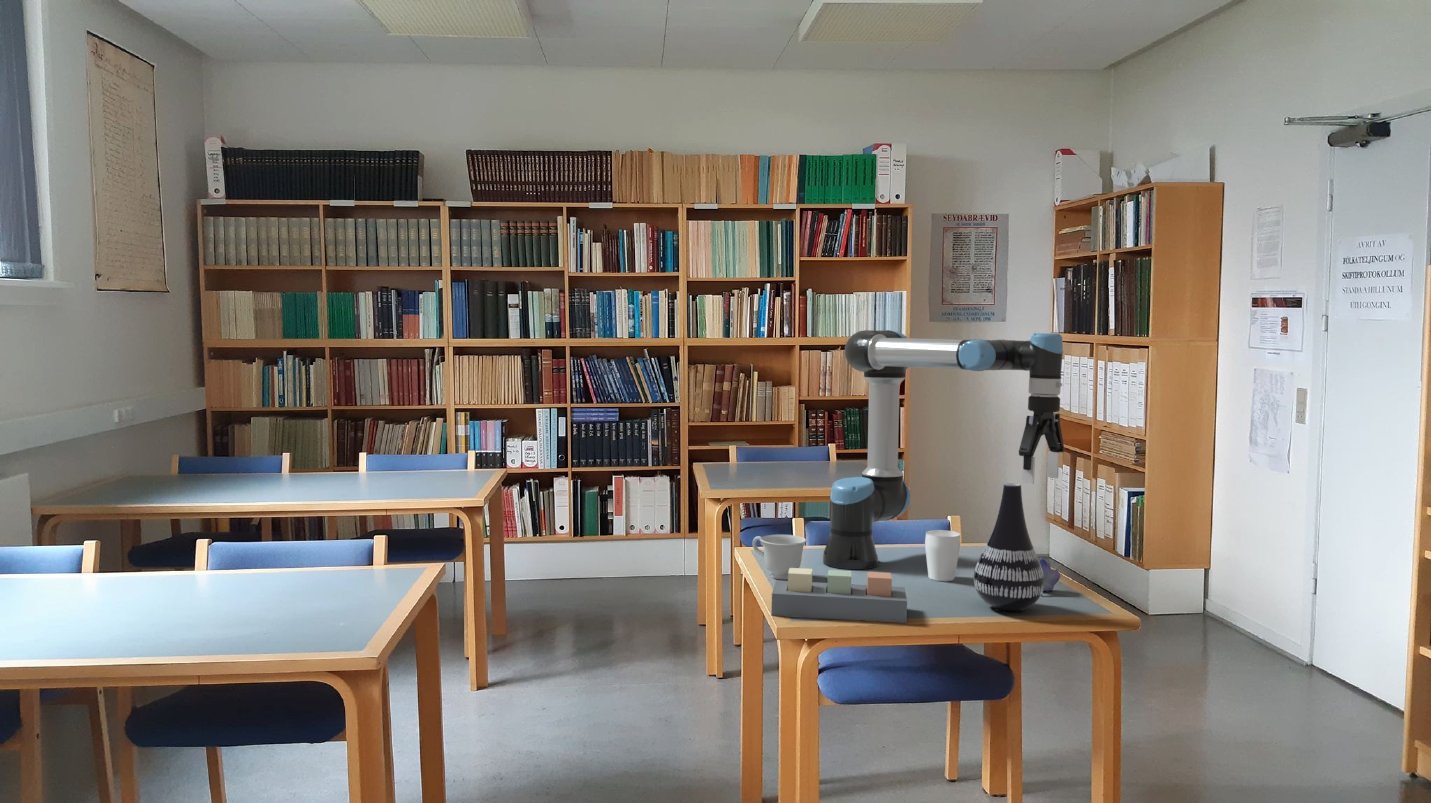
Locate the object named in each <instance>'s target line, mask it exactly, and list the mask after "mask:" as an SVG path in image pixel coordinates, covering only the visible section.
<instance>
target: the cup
mask: <svg viewBox="0 0 1431 803" xmlns="http://www.w3.org/2000/svg"><path fill="white" fill-rule="evenodd" d="M924 547H925V556H926V566H927V576H928V579H929V580H933V581H936V582H952V581H954V580H955V576H956V571H957V566H958V561H959V555H960V550H961V549H960V548H961V534H960V533H959V532H957V531H953V530H947V529H946V530H945V529H933V530H932V529H931V530H927V531H925V539H924Z"/></svg>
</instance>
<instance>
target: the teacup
mask: <svg viewBox="0 0 1431 803" xmlns="http://www.w3.org/2000/svg"><path fill="white" fill-rule="evenodd" d="M757 541H759V542H760V545H761V546H763V551H762V550H761V549H760V548H759V547H758V545H757ZM806 543H807V539H806V538H805V537H803V536H799V535H795V534H793V535H792V534H769V535H764V536H760V535H759V536H755V537H754V538H753V539H752V548H753V550H754V551H755V553H757V554H758V555H761V557H762V558H763V559H764V564H765V567H766V569H767V570H768V571H769V572H771V578H773V579H776V580H782V581H786V580H788V572H789V568H801V563H802V560H803V558H802V557H803V551H804V546H805V544H806Z"/></svg>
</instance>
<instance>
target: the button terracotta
mask: <svg viewBox="0 0 1431 803" xmlns="http://www.w3.org/2000/svg"><path fill="white" fill-rule="evenodd" d="M866 576H867V584H866V585H867V595H871V596H890V597H891V587H892V583H893V582H892V580H893V577H892V573H891V572H879V571H867V574H866Z"/></svg>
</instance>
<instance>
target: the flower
mask: <svg viewBox="0 0 1431 803" xmlns="http://www.w3.org/2000/svg"><path fill="white" fill-rule="evenodd" d="M1038 560H1039V562H1040V564H1041V567H1042V570H1043V574H1044V590H1043V592H1051V591H1054V588H1055V585H1057V583H1058V582H1059V580H1060V578H1061V573H1060V572H1059V570H1058V568H1056V569H1054V568H1052V565H1051V561H1047V560H1046V559H1044V558H1042V557H1039V558H1038ZM1040 597H1043V594H1042V595H1041V596H1040Z"/></svg>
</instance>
